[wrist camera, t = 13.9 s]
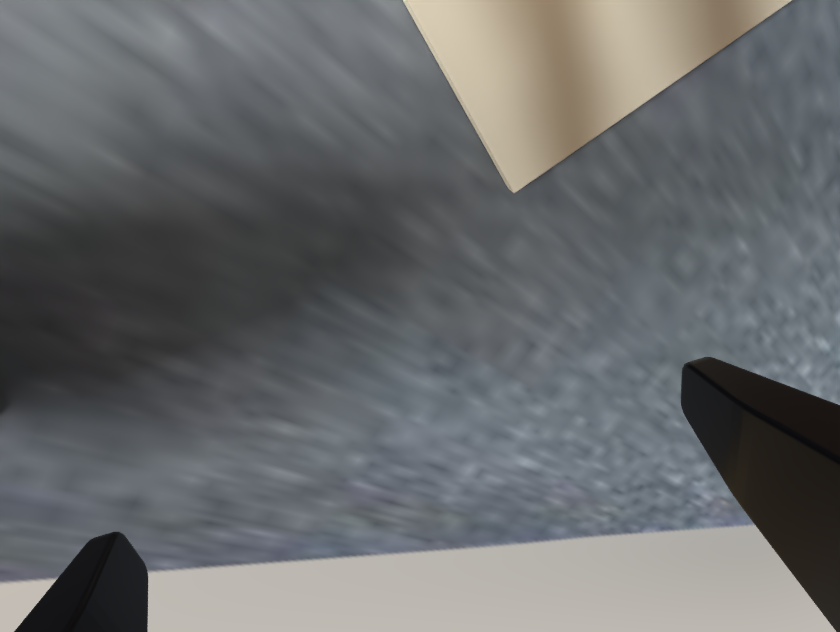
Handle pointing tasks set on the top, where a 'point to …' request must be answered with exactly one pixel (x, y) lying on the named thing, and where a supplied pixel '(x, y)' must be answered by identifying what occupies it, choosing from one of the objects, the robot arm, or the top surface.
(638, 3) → the socket
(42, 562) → the top surface
